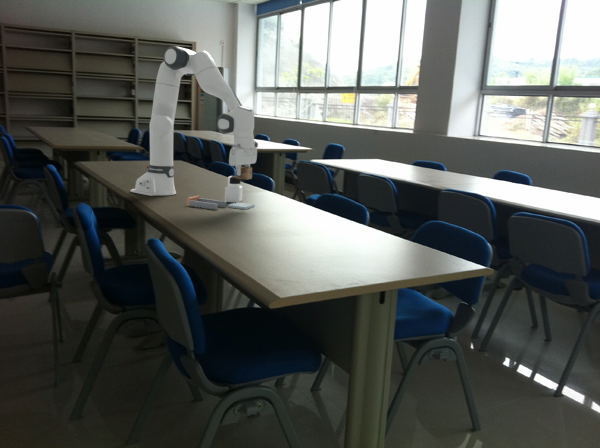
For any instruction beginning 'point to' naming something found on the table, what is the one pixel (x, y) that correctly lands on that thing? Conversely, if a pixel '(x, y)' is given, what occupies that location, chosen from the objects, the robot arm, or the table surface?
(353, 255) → the table surface
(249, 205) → the tile
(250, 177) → the block
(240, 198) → the medicine bottle
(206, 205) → the channel
